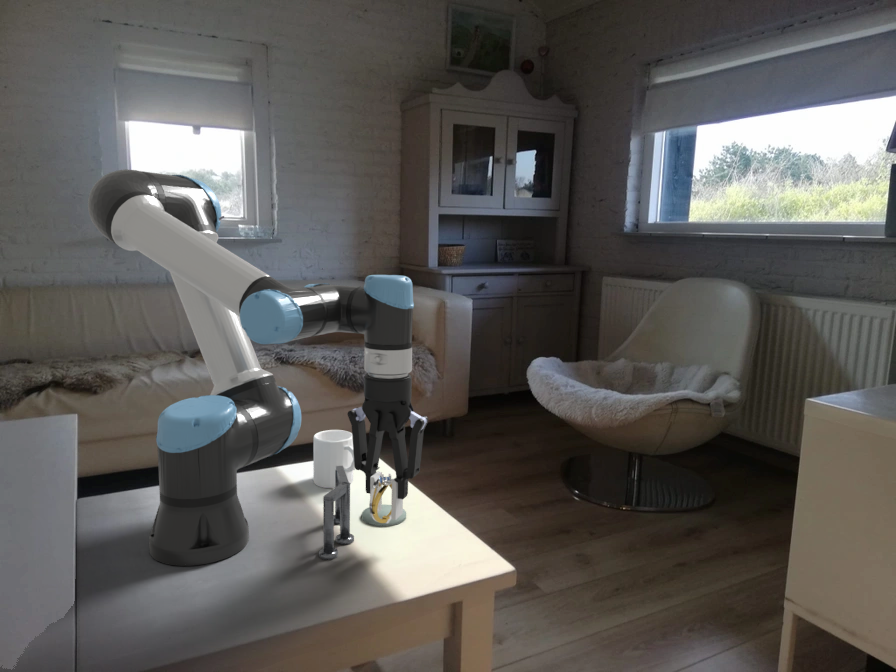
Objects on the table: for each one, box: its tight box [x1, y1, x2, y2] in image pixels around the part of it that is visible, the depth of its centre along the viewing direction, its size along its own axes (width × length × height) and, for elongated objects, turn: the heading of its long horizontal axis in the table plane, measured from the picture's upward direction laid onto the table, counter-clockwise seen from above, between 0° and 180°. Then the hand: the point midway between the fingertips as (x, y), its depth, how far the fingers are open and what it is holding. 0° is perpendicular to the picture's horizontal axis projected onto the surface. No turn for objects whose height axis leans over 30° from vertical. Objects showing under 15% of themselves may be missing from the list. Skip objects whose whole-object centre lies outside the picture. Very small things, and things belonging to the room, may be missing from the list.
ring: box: [369, 473, 394, 523], centre depth 105 cm, size 7×3×8 cm, turn 144°
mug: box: [312, 429, 356, 489], centre depth 133 cm, size 8×12×10 cm
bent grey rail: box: [318, 466, 355, 561], centre depth 109 cm, size 8×15×10 cm, turn 161°
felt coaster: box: [361, 504, 407, 527], centre depth 118 cm, size 8×8×1 cm
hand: (386, 514), depth 106 cm, fingers closed on ring, 3 cm apart
